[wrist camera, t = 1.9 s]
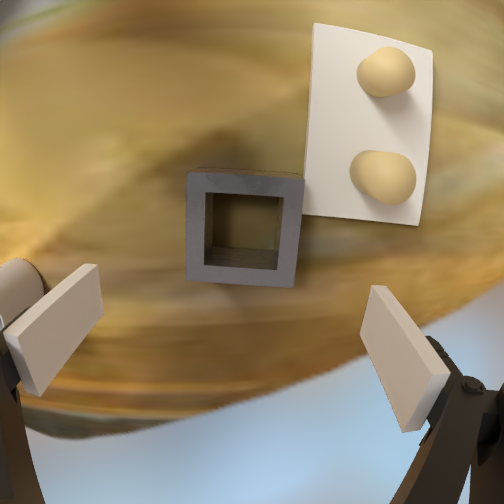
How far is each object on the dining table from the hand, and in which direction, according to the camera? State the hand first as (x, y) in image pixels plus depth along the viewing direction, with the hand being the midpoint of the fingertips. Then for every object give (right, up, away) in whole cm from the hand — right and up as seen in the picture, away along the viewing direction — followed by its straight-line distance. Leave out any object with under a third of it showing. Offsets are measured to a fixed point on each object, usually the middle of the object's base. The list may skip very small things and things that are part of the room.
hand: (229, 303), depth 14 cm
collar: (0, +6, +15) cm, 16 cm away
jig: (+12, +14, +12) cm, 22 cm away
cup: (-28, -3, +19) cm, 34 cm away
